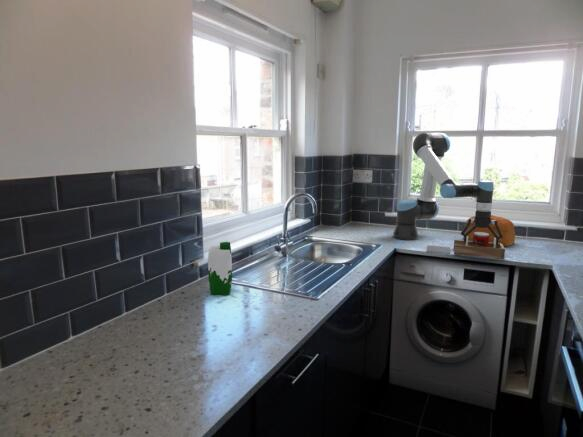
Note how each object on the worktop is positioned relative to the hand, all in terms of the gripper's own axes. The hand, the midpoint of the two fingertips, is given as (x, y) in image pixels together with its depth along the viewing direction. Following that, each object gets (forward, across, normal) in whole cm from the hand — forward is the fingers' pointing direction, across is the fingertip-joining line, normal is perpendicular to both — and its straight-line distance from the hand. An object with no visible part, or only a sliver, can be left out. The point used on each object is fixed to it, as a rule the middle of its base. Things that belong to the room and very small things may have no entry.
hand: (480, 249), depth 221 cm
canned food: (+2, 0, 0) cm, 2 cm away
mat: (+2, -21, 0) cm, 21 cm away
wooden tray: (+2, -1, 0) cm, 2 cm away
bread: (+3, +7, +33) cm, 34 cm away
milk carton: (+2, -100, -101) cm, 142 cm away
